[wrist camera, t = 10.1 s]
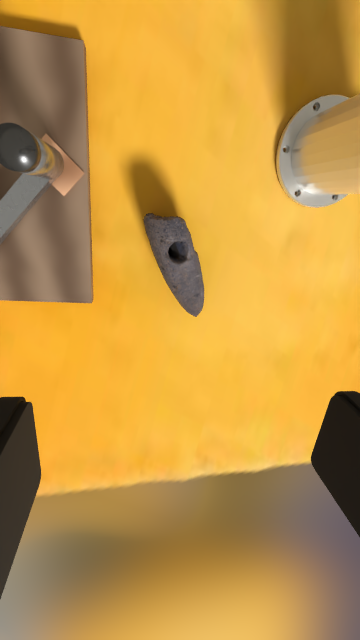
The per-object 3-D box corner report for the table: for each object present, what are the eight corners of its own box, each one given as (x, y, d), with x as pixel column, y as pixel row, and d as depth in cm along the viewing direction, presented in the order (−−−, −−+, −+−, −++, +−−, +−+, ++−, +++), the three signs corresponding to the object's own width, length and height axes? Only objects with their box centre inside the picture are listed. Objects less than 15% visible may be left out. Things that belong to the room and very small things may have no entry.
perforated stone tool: (208, 302, 44) (220, 319, 37) (175, 314, 44) (182, 333, 37) (177, 201, 38) (185, 201, 31) (139, 214, 38) (140, 217, 31)
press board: (85, 48, 30) (82, 38, 29) (93, 299, 41) (91, 303, 39) (-122, 12, 27) (-140, 0, 26) (-57, 294, 38) (-66, 298, 36)
